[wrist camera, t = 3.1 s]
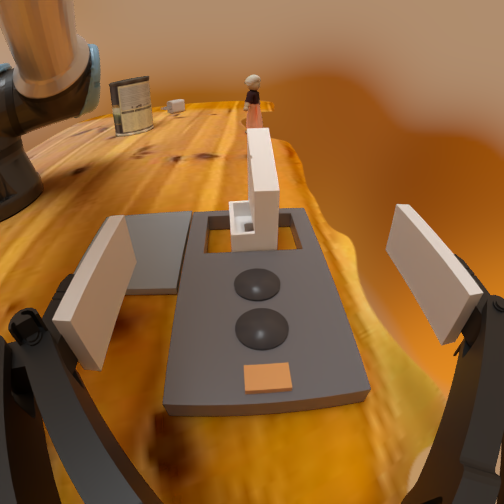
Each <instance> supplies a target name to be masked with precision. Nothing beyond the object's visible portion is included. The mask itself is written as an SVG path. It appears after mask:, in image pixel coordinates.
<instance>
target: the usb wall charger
mask: <svg viewBox="0 0 504 504" xmlns="http://www.w3.org/2000/svg"><path fill="white" fill-rule="evenodd" d="M162 108H163V109H165V110H168V113H172V114H173V113H178V112H183V111H185V105H184V100H181V99H179V100H173V101H168V102H167V107H162ZM162 108H161V110H163V109H162Z"/></svg>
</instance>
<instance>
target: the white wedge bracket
mask: <svg viewBox="0 0 504 504" xmlns="http://www.w3.org/2000/svg"><path fill="white" fill-rule="evenodd" d="M247 154H248V201H231V202H229V214H230V231H231V246H232V252H249V251H272V250H277V244H278V219H279V191H280V190H279V184H278V178H277V172H276V167H275V161H274V155H273V150H272V144H271V138H270V133H269V128H247Z"/></svg>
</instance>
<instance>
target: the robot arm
mask: <svg viewBox="0 0 504 504" xmlns="http://www.w3.org/2000/svg"><path fill="white" fill-rule="evenodd" d="M0 28H1V30H2V33H3V35H4V37H5V40H6V42H7V44H8V47H9V49H10V51H11V54H12V56H13V58H14V60H15V62H16V65H15V67H14V68H13V69H12V67H11V66H10V64H9V63H4V64H0V221H1V220H4V219H6V218H8V217H9V216H11V215H13V214H15V213H17V212H18V211H20V210H21V209H23V208H24V207H26V206H27V205H29V204H30V203H31V202H32V201H34V200H35V199H36V198H37V197H38V196H39V195H40V194H41V192H42V190H43V184H42V181H41V177H40V175H39V174H38V172H36V170H35V168H34V167H33V165H32V163H31V161H30V160H29V158H28V156H27V155H26V153H25V151H24V148H23V144H22V140H21V135H24V134H26V133H29V132H31V131H34V130H37V129H40V128H42V127H45V126H48V125H51V124H54V123H57V122H61V121H64V120H67V119H70V118H78V117H80V116H81V115H83V114H86V113H89V112H92V111H93V110H95V109H96V107H97V106H98V103H99V98H100V58H99V50H98V47H97V46H96V45H94V44H87V42H86V41H85V39H84V38H82V37H81V36H80V35H78V34H76V25H75V15H74V3H73V0H0ZM386 251H387V253H388V255H389V256H390V257H391V259H392V261H393V262H394V264H395V265H396V267H397V269H398V270H399V272H400V273H401V275H402V276H403V278H404V280H405V281H406V283H407V285H408V286H409V288H410V290H411V292H412V293H413V295H414V297H415V298H416V300H417V302H418V303H419V305H420V307H421V309H422V310H423V312H424V314H425V316H426V318H427V319H428V321H429V323H430V325H431V327H432V329H433V330H434V332H435V334H436V336H437V338H438V340H439V342H440V344H441V345H445V344H449V343H452V342H455V341H456V339H457V338H458V336H459V334H460V333H461V332H462V334H463V336H464V339H463V341H462V342H461V344H460V345H459V347H458V348H457V350H456V351H455V353H454V356H456V355H457V353H458V352H459V356H458V361H457V365H456V369H455V374H454V378H453V382H452V386H451V390H450V393H449V397H448V400H447V403H446V407H445V410H444V413H443V416H442V419H441V422H440V425H439V428H438V431H437V434H436V437H435V440H434V442H433V445H432V447H431V450H430V453H429V455H428V458H427V460H426V463H425V465H424V467H423V469H422V472H421V474H420V477H419V479H418V481H417V482H416V484H415V486H414V487H413V488H412V489H411V491H410V492H409V493H408V494H407V495H406V496H405V498H404V499H403V501H402V502H401V504H495V502H496V499H497V504H504V299H503V298H502V297H500V296H496V295H490V294H489V293H488V291H487V290H486V288H485V287H484V286H483V285H482V283H481V282H480V280H479V279H478V278H477V277H476V276H475V275H474V273H473V272H472V270H471V269H470V268H469V267H468V265H467V264H466V263H465V262H464V260H462V259H461V258H459V257H458V256H457V255H456V254H453V253H452V252H451V251H450V250H449V248H448V247H447V246H446V245H445V244H444V243H443V241H442V240H441V239H440V238H439V237H438V236H437V234H436V233H435V232H434V231H433V230H432V229H431V228H430V227H429V226H428V225H427V223H426V222H425V221H424V220H423V219H422V218H421V217H420V216H419V215H418V214H417V213H416V212H415V211H414V209H413V208H411V206H410V205H401V204H397V205H396V209H395V213H394V217H393V222H392V226H391V230H390V234H389V238H388V242H387V246H386ZM136 262H137V261H136V258H135V254H134V250H133V247H132V243H131V239H130V235H129V232H128V228H127V224H126V220H125V215H116V216H110V217H109V218H108V220H107V221H106V223H105V225H104V226H103V228H102V229H101V231H100V233H99V234H98V236H97V238H96V239H95V241H94V242H93V244H92V246H91V248H90V249H89V251H88V253H87V254H86V256H85V258H84V260H83V261H82V263H81V265H80V267H79V268H78V270H77V272H76V274H69V275H68V276H67V277H66V278H65V279H64V280H63V281H62V282H61V283H60V285H59V287H58V289H57V291H56V293H55V294H54V296H53V298H52V300H51V302H50V304H49V306H48V308H47V310H46V312H45V314H44V315H43V318H42V319H41V317H40V315H39V314H38V312H37V311H36V309H34V308H25V309H22V310H20V311H19V312H17V313H16V314H15V315H14V316H13V317H12V319H11V320H10V323H9V327H8V330H9V332H10V333H11V334H12V336H13V337H14V339H15V340H16V342H11V343H7V342H6V341H5V340H4V338H3V337H2V336H0V504H61V501H60V498H59V494H58V491H57V487H56V484H55V480H54V476H53V472H52V468H51V464H50V459H49V454H48V450H47V444H46V439H45V433H44V427H43V421H44V423H45V426H46V428H47V430H48V433H49V435H50V438H51V440H52V442H53V444H54V447H55V449H56V451H57V453H58V455H59V457H60V459H61V461H62V463H63V465H64V467H65V469H66V471H67V473H68V475H69V477H70V479H71V481H72V482H73V484H74V486H75V488H76V490H77V491H78V493H79V495H80V496H81V498H82V500H83V501H84V503H85V504H163V503H162V501H161V500H160V499H159V498H158V497H157V495H156V494H155V493H154V492H153V490H152V489H151V488H150V487H149V485H148V484H147V483H146V482H145V480H144V479H143V478H142V476H141V475H140V474H139V472H138V471H137V470H136V468H135V467H134V465H133V464H132V463H131V461H130V460H129V458H128V457H127V455H126V454H125V453H124V451H123V450H122V448H121V447H120V445H119V444H118V442H117V440H116V439H115V437H114V436H113V434H112V433H111V431H110V429H109V428H108V426H107V424H106V423H105V421H104V419H103V418H102V416H101V414H100V413H99V411H98V409H97V407H96V406H95V404H94V402H93V400H92V398H91V397H90V395H89V393H88V391H87V389H86V387H85V385H84V383H83V381H82V379H81V377H80V375H79V373H78V372H77V370H76V369H75V368H76V365H77V362H78V361H79V363H80V364H81V366H82V367H83V368H84V369H85V370H95V371H101V370H102V367H103V363H104V359H105V356H106V352H107V349H108V345H109V342H110V339H111V336H112V332H113V329H114V326H115V323H116V320H117V316H118V313H119V310H120V307H121V304H122V301H123V298H124V296H125V293H126V290H127V287H128V284H129V281H130V279H131V276H132V273H133V270H134V268H135V265H136ZM42 418H43V421H42ZM501 442H502V445H501ZM500 446H501V466H500V476H499V475H497V474H496V473H495V466H496V463H497V459H498V455H499V451H500Z"/></svg>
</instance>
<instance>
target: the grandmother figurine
mask: <svg viewBox="0 0 504 504" xmlns="http://www.w3.org/2000/svg"><path fill="white" fill-rule="evenodd" d="M260 81H261V80H260V77H258V76H257V75H251V76H249V77H248V78H247V79H246V81H245V84H247V85H248V88H249V89H250V91H249V92H248V93H247V97H246V100H245V105H244V106H245V107H244V111H248V113H247V122H246V128H263V122H262V116H261V111H260V106H259V105H260V99H259V92H257V90H258V89H259V87H260ZM245 133H247V130H246V131H245Z"/></svg>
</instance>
